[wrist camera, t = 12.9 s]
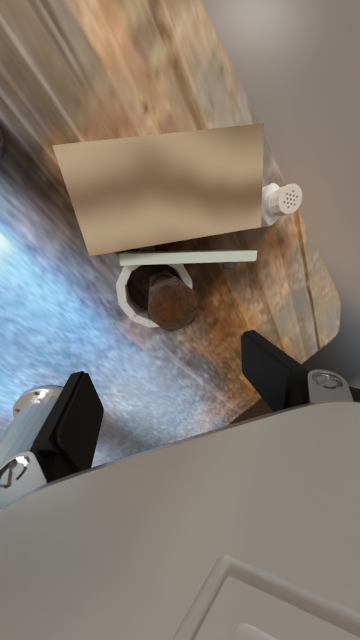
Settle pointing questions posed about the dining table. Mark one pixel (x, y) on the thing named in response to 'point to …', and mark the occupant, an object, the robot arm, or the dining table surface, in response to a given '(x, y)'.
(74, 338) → the dining table surface
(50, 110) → the dining table surface
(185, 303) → the bolt
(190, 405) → the dining table surface
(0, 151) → the silver tall cylinder
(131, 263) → the grey piece
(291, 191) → the pepper shaker
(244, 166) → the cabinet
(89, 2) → the dining table surface
